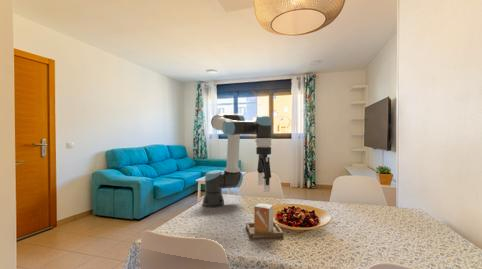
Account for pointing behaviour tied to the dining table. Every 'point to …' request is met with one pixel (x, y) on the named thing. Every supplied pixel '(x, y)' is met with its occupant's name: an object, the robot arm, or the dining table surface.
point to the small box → (263, 218)
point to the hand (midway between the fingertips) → (263, 188)
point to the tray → (256, 235)
